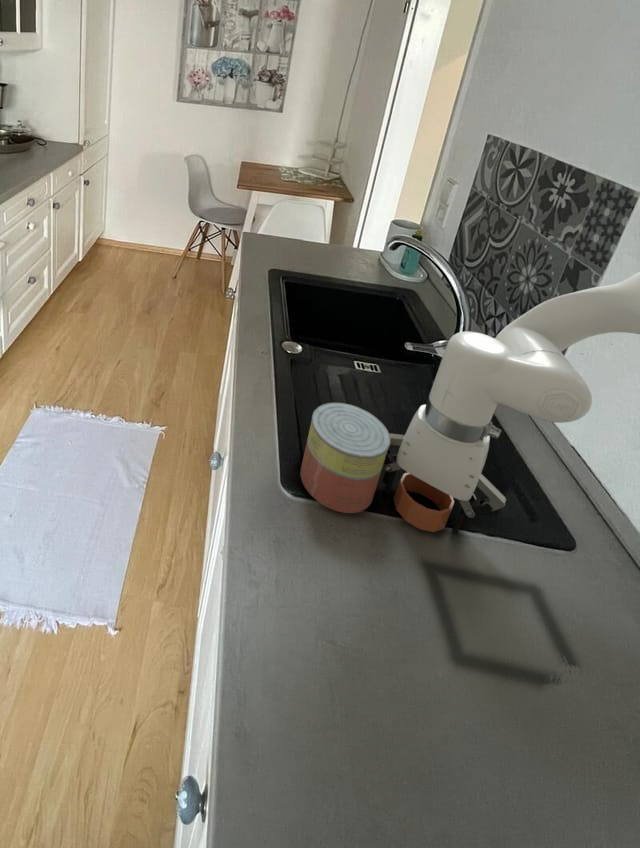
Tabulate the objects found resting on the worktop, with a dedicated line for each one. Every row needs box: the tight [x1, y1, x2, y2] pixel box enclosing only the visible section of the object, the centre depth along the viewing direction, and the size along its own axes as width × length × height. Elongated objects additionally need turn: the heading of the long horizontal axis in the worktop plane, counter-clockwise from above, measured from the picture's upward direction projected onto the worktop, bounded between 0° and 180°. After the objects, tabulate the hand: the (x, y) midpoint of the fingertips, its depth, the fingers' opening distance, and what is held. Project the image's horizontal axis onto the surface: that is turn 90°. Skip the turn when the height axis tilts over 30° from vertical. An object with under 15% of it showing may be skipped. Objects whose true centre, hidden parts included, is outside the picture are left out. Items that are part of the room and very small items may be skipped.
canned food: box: [299, 402, 391, 514], centre depth 78 cm, size 11×11×12 cm
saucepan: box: [392, 472, 456, 533], centre depth 77 cm, size 13×7×5 cm, turn 139°
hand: (421, 506), depth 76 cm, fingers open, 9 cm apart
